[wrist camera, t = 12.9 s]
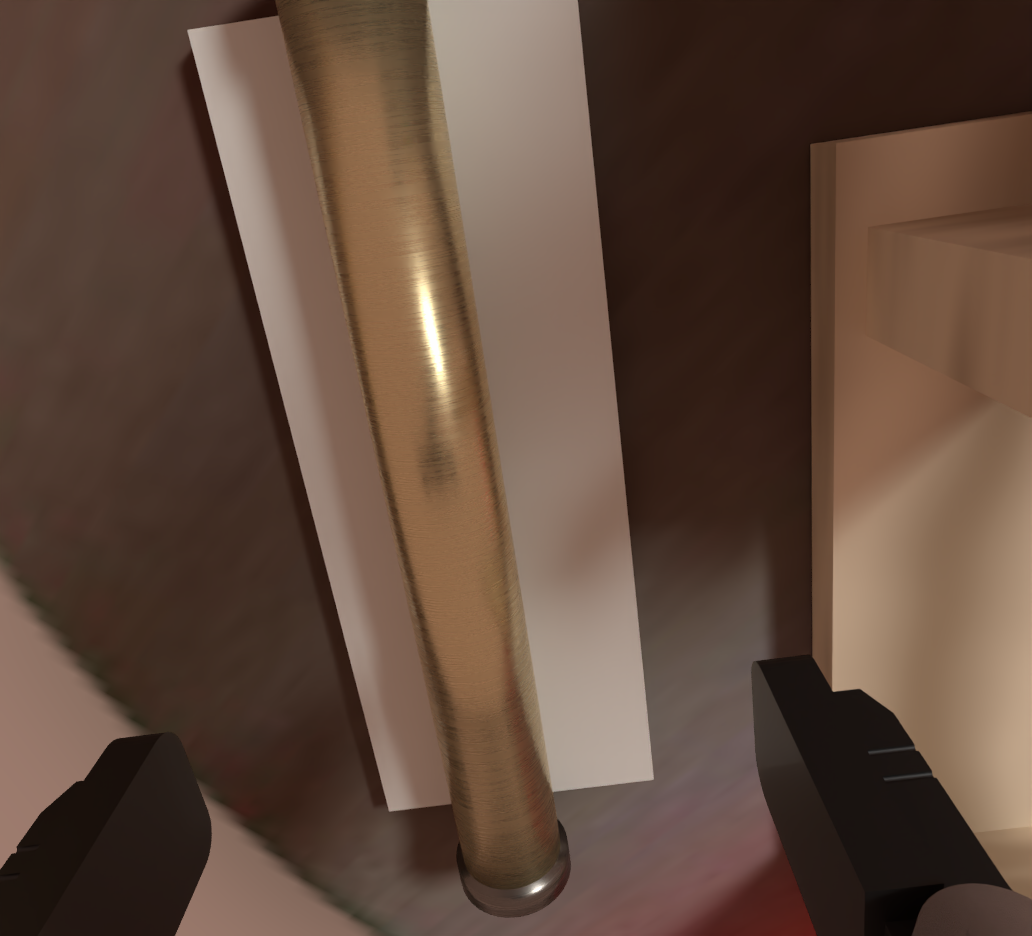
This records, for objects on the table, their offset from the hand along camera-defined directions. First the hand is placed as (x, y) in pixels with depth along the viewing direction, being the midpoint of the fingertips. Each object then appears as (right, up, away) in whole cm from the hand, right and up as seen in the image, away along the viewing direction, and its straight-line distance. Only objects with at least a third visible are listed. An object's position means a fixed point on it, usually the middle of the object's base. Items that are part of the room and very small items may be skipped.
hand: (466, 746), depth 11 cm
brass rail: (-1, +4, +9) cm, 10 cm away
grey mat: (-1, +4, +10) cm, 11 cm away
